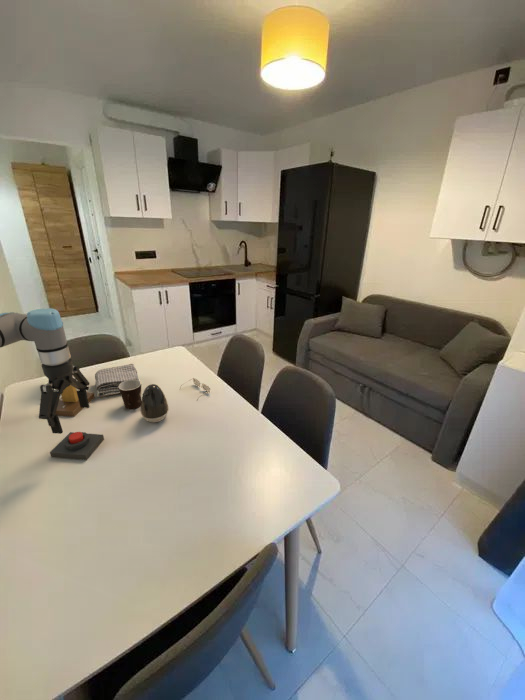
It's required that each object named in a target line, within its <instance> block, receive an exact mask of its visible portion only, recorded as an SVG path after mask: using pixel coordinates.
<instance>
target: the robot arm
mask: <svg viewBox="0 0 525 700" xmlns="http://www.w3.org/2000/svg"><path fill="white" fill-rule="evenodd" d="M20 341H26V342H33V343H34V345H35V349H36V351H37V354H38V358H39V361H40V364H41V369H42V372H43V375H44V376H45V377H46V378H47V381H48V382H47V383H46V384H41V385H40V386H39V390H40V399H39V400H40V402H39V411H38V419H40V420H46V422H47V425H48V426H49V427H50V429H51V433H52V434H60V435H61V434H63V432H64V430H63V428H62V424H61V421H60V418H59V417H60V416H58V415H55V414H56V410H57V406H58V402H59V399H60V398H61V394H62V393H63V390H65V389H66V387H68V386H70V385H71V386H73V387H75V388H76V389H77V395H78V399H79V403H80V407H81V408H83V409H88V408H90V403H88V399H87V392H88V391H89V390H90V385H91V384H90V381H89V380H88V378H87V377H86V376H85V375H84V374H83V372H82V371H81V370H80V367H79V365H74V364H73V361H72V358H71V357H72V355H71V352H70V348H69V344H68V340H67V337H66V332H65V328H64V322H63V320H62V317H61V314H60V312H59V310H57V309H56V308H51V307H48V308H45V307H43V308H36V309H32V310H30V311H28V312H27V313H26V314H25V313H19V312H13V311H12V312H11V311H10V312H1V313H0V349H1V348H3V347H6V346H9V345H12V344H15V343H17V342H20ZM72 376H73V377H72Z"/></svg>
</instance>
